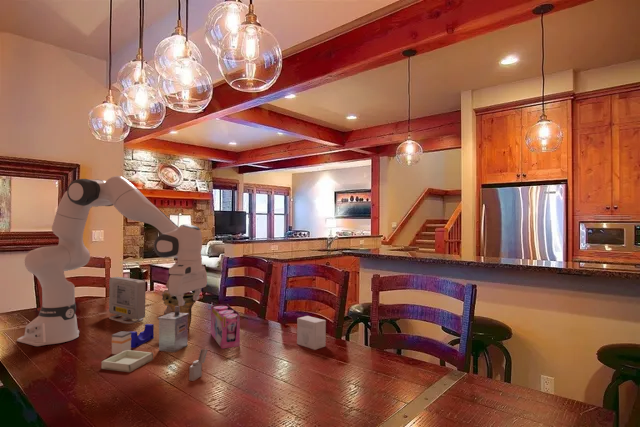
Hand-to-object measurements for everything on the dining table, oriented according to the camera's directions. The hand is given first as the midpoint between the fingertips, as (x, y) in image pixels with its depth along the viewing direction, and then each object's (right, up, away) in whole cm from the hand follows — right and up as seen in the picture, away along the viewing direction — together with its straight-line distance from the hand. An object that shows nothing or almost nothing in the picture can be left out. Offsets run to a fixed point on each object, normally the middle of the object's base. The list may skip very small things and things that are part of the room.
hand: (189, 302), depth 143 cm
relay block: (-24, -18, -3) cm, 30 cm away
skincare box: (+47, -18, +5) cm, 51 cm away
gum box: (+11, -19, +11) cm, 24 cm away
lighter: (+12, -18, -24) cm, 32 cm away
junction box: (-7, -18, +2) cm, 19 cm away
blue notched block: (-23, -19, +8) cm, 31 cm away
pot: (-12, -19, +24) cm, 33 cm away
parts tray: (-16, -18, -15) cm, 28 cm away
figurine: (-29, -19, +56) cm, 66 cm away
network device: (-47, -19, +43) cm, 66 cm away
